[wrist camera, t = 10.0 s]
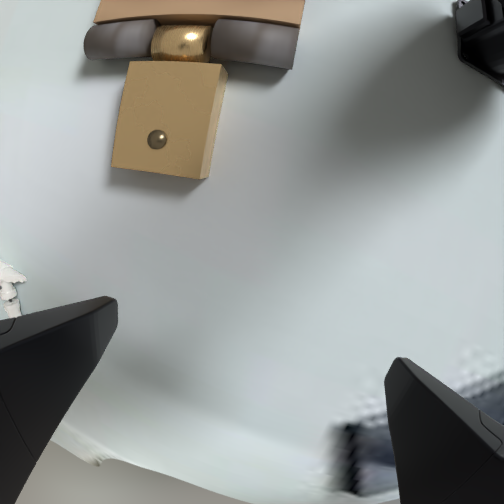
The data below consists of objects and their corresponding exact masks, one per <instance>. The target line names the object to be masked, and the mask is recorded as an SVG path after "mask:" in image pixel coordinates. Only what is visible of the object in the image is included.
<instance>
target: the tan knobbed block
mask: <svg viewBox="0 0 504 504" xmlns="http://www.w3.org/2000/svg"><path fill="white" fill-rule="evenodd" d="M212 32H213V28H212V27H211V26H198V25H163V26H159V27H158V28H157V29H156V31H155V33H154V35H153V38H152V43H151V55H152V59H153V61H130V64H129V68H128V72H127V76H126V81H125V85H124V90H123V95H122V99H121V105H120V110H119V115H118V121H117V127H116V134H115V140H114V147H113V155H112V163H111V167H116V168H124V169H132V170H140V171H147V172H154V173H161V174H168V175H174V176H181V177H187V178H193V179H199V180H200V179H203V178H206V177H208V176H209V171H210V165H211V159H212V153H213V148H214V142H215V137H216V132H217V127H218V121H219V116H220V111H221V106H222V101H223V97H224V92H225V87H226V82H227V78H228V73H227V72H226V70H225V69H224V67H223V66H222V64H212V63H209V61H210V58H211V38H212Z"/></svg>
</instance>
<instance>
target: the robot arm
mask: <svg viewBox="0 0 504 504" xmlns="http://www.w3.org/2000/svg"><path fill="white" fill-rule="evenodd" d="M462 4H463V5H462ZM456 22H457V34H458V57H459V59H460V60H461V61H462V62H463V63H465V64H467V65H469V66H471V67H472V68H474V69H476V70H478V71H479V72H481V73H483V74H484V75H486V76H488V77H489V78H491V79H492V80H494V81H496V82H497V83H499V84H500V85H502V86H503V87H504V0H470V1H469V2H467V1H465V0H458V1H457V10H456ZM463 55H465V57H466V58H464V56H463ZM117 325H118V304H117V300H116V299H114V298H111V297H108V296H102V297H98V298H94V299H90V300H86V301H81V302H77V303H73V304H69V305H65V306H60V307H56V308H52V309H48V310H43V311H39V312H35V313H31V314H26V315H22V316H18V317H17V318H16V317H13V318H9V319H5V320H0V504H15V502H16V500H17V498H18V496H19V494H20V492H21V490H22V489H23V487H24V484H25V483H26V481H27V479H28V477H29V475H30V474H31V472H32V470H33V468H34V467H35V465H36V462H37V461H38V459H39V457H40V456H41V454H42V452H43V450H44V449H45V447H46V445H47V443H48V442H49V440H50V438H51V437H52V435H53V433H54V432H55V430H56V428H57V427H58V425H59V423H60V422H61V420H62V419H63V417H64V415H65V414H66V412H67V411H68V409H69V407H70V406H71V404H72V403H73V401H74V399H75V398H76V396H77V395H78V393H79V392H80V390H81V389H82V387H83V385H84V384H85V382H86V381H87V379H88V378H89V376H90V375H91V373H92V372H93V370H94V369H95V367H96V366H97V364H98V362H99V361H100V359H101V357H102V355H103V353H104V351H105V349H106V347H107V345H108V343H109V341H110V339H111V338H112V336H113V334H114V332H115V330H116V328H117ZM384 386H385V395H386V406H387V417H388V424H389V430H390V435H391V441H392V447H393V453H394V459H395V465H396V472H397V479H398V487H399V495H400V503H401V504H504V426H503V425H501V424H500V423H498V422H497V421H495V420H494V419H492V418H491V417H489V416H488V415H487V414H485V413H484V412H482V411H481V410H478V408H477V407H475V406H474V405H473V404H471V403H470V402H468V401H467V400H466V399H464V398H463V397H461V396H460V395H459V394H457V393H456V392H454V391H453V390H452V389H450V388H449V387H447V386H446V385H445V384H443V383H442V382H440V381H439V380H438V379H436V378H435V377H433V376H432V375H431V374H429V373H428V372H426V371H425V370H424V369H422V368H421V367H419V366H418V365H417V364H415V363H414V362H412V361H411V360H410V359H408V358H402V357H397V358H396V359H395V360H394V361H393V363H392V365H391V367H390V369H389V371H388V373H387V375H386V377H385V380H384Z"/></svg>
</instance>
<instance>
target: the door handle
mask: <svg viewBox="0 0 504 504" xmlns="http://www.w3.org/2000/svg"><path fill="white" fill-rule="evenodd" d="M17 281H20V282H21V283H23V281H25V282H26V281H27V279H26V277H25V276H24V275H22V274H20V273H19V272H17V271H15V270H14V269H13V267H12V266H11V265H9V264H8V263H6V262H4V261H2V260H0V290H1V291H0V295H1V299H2V300H8V301H6V302H5V303H4V304H3V305H4V308H5V310H6V312H8V315H9V318H13V317H16V318H17V317H18V316H22V314H21V311H20V303H19V299H12V298H14V297H15V296H16V295H17V292H16V289H15V287H13V284H12V282H13V283H16V282H17Z"/></svg>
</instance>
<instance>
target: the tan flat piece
mask: <svg viewBox="0 0 504 504" xmlns="http://www.w3.org/2000/svg"><path fill="white" fill-rule="evenodd" d="M304 4H305V0H101V2H100V5H99V7H98V10H97V13H96V16H95V19H94V23H95V24H97V25H96V26H93V27H91V28H90V29H89V30H88V32H87V33H86V36H85V39H84V52H85V54H86V56H87V58H88V59H90V60H101V59H114V58H132V57H152V55H151V43H152V38H153V35H154V33H155V31H156V29H157V28H158V27H159V26H163V25H198V26H211V27H212V28H214V29H213V32H212V38H211V55H212V57H213V59H218V60H229V61H238V62H246V63H254V64H261V65H268V66H274V67H280V68H285V69H291V70H292V66H293V62H294V56H295V51H296V46H297V40H298V35H299V30H300V25H301V19H302V14H303V9H304Z"/></svg>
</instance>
